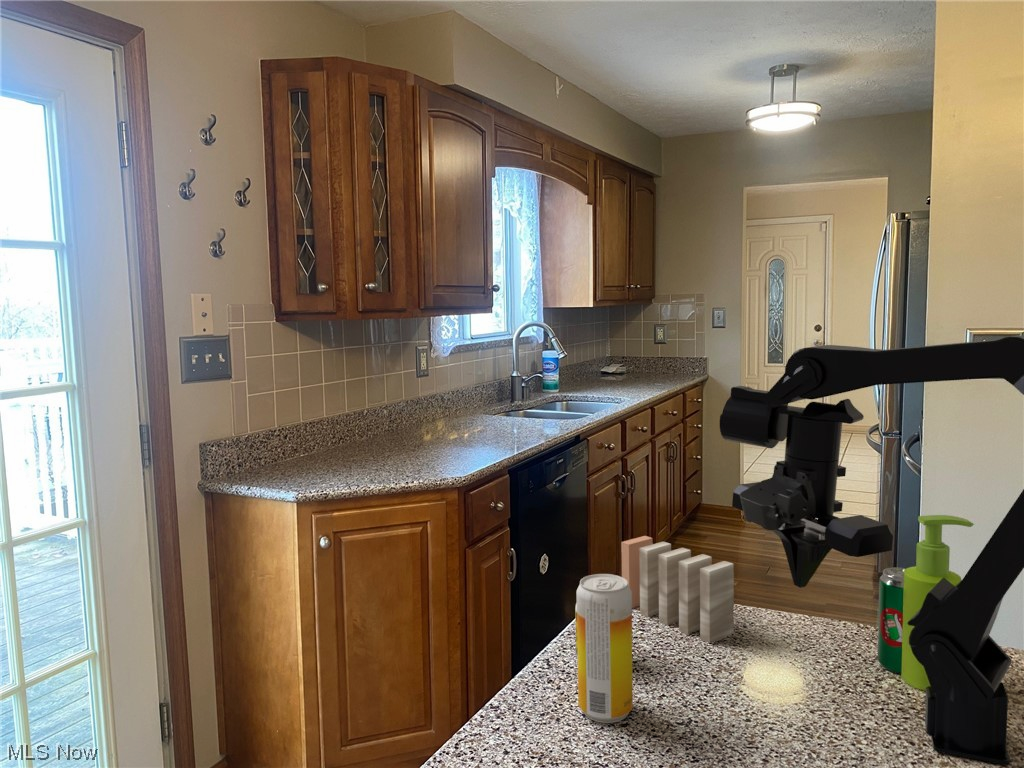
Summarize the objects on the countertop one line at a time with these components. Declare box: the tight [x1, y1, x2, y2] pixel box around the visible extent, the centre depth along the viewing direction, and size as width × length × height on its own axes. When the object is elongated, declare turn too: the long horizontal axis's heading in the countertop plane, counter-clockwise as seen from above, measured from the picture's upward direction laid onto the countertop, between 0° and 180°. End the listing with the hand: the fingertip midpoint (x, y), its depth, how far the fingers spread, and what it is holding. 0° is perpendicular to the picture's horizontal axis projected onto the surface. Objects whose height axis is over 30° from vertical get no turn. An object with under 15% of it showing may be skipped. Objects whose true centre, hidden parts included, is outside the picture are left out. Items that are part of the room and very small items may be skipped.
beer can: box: [576, 573, 634, 724], centre depth 84 cm, size 6×6×15 cm
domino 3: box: [658, 547, 692, 626], centre depth 108 cm, size 2×5×10 cm, turn 125°
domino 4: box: [678, 553, 713, 635], centre depth 105 cm, size 2×5×10 cm, turn 126°
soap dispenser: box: [900, 514, 975, 692], centre depth 88 cm, size 6×7×20 cm
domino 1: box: [621, 535, 654, 609], centre depth 114 cm, size 2×5×10 cm, turn 125°
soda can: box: [877, 566, 907, 675], centre depth 92 cm, size 5×5×12 cm
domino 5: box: [699, 560, 735, 644], centre depth 102 cm, size 2×5×10 cm, turn 126°
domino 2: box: [639, 541, 672, 618], centre depth 111 cm, size 2×5×10 cm, turn 125°
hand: (799, 586), depth 87 cm, fingers closed
